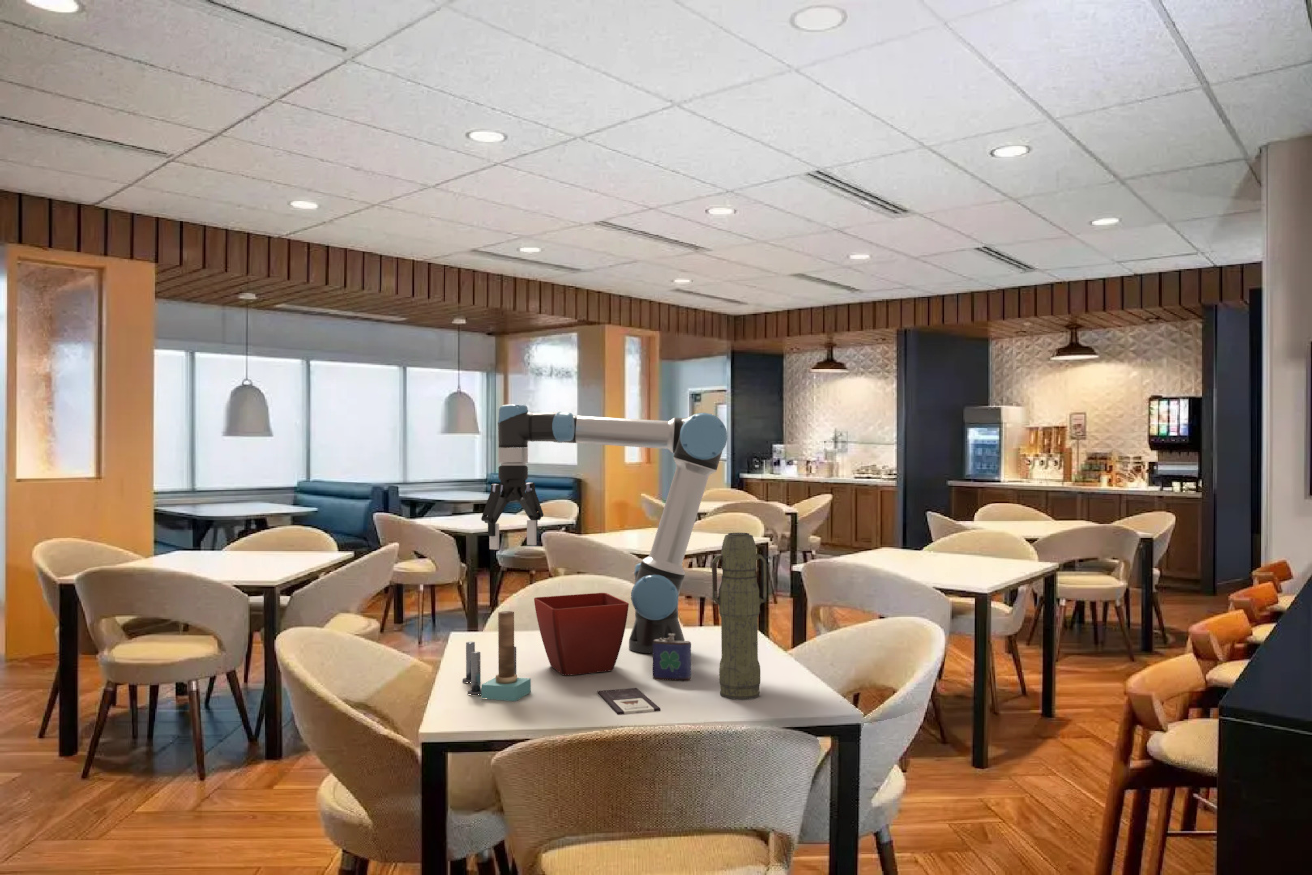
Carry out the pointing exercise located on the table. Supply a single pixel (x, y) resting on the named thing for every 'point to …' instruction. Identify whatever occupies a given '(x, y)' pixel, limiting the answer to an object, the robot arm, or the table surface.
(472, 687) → the post course
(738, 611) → the thermos
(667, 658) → the flask
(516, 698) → the block
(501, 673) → the brown flanged cylinder
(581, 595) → the plant pot
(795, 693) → the table surface
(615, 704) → the chocolate bar
